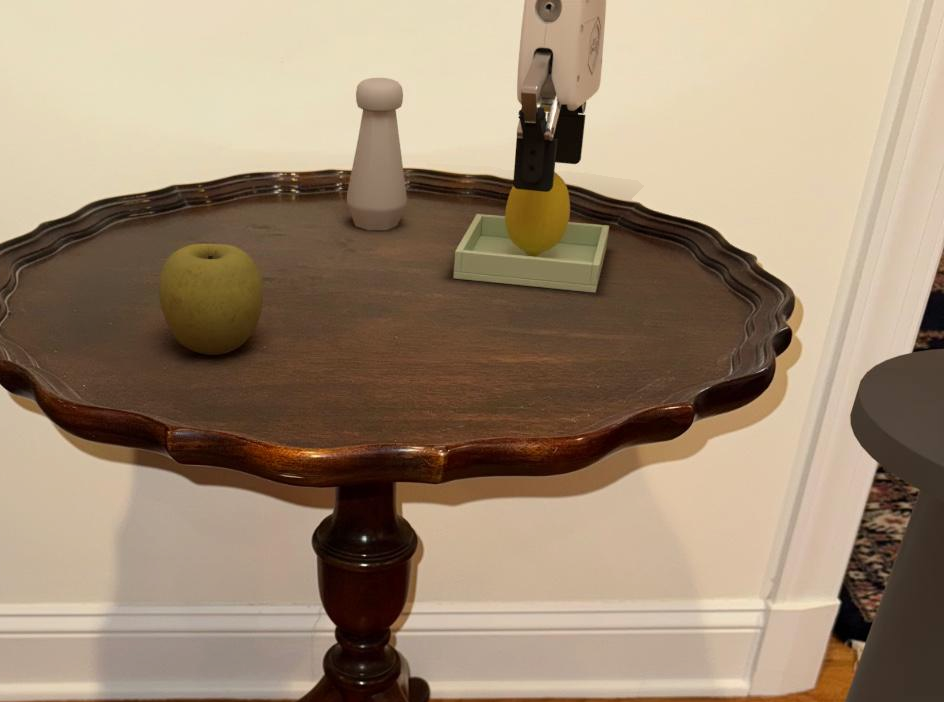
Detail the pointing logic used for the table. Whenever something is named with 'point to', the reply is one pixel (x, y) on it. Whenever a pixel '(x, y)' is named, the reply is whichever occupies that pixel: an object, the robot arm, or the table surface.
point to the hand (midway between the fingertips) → (547, 175)
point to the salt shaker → (377, 158)
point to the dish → (502, 261)
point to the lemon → (538, 217)
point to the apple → (211, 297)
